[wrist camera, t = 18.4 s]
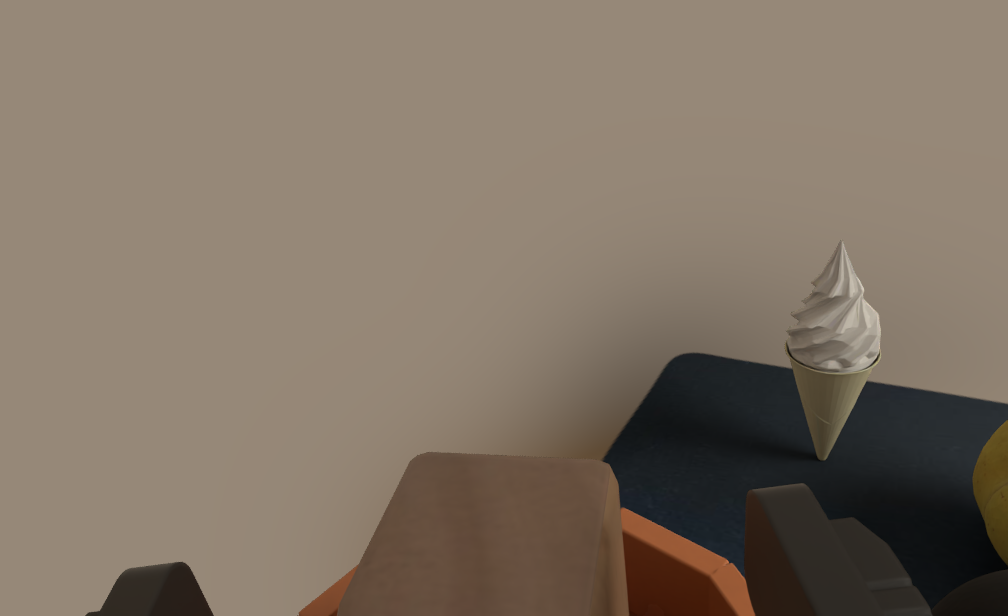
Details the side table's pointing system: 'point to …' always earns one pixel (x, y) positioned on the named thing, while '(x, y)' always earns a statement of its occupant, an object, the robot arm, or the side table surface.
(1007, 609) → the decorative ball
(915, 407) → the side table surface
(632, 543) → the pan
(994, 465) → the fruit
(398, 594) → the wooden block
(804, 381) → the ice cream cone
